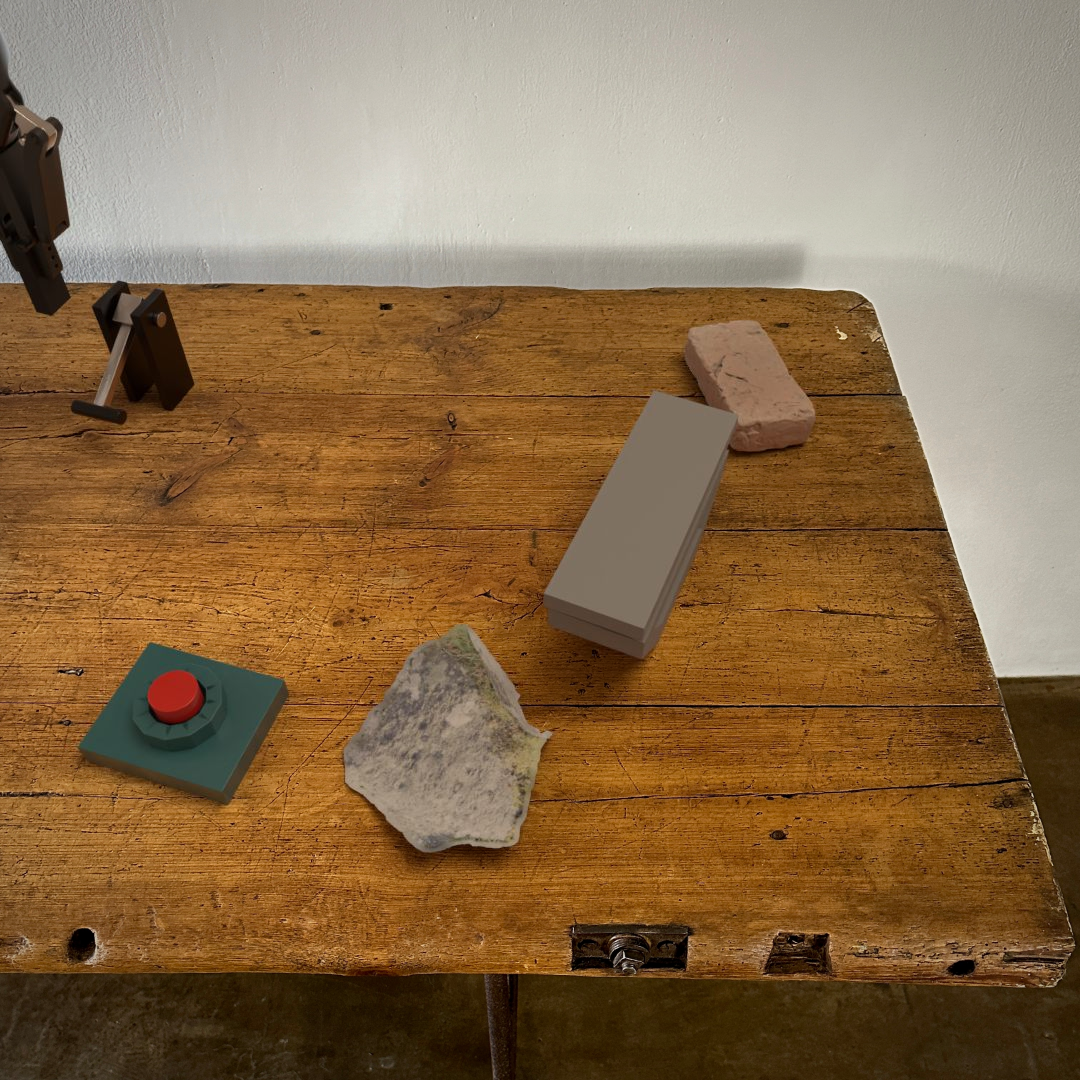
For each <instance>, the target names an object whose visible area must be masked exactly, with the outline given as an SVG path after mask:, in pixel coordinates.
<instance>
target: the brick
mask: <svg viewBox="0 0 1080 1080" xmlns="http://www.w3.org/2000/svg"><path fill="white" fill-rule="evenodd" d="M686 339H687V341H685V343H684V355H683V357H685V358H683V359H684V361H685V362H686V366H687V365H688V366H687V368H688V367H689V369H690V370H689V369H688V370H689V372H690V371H691V372H692V374H693V375H694V376H693V375H692V374H691V375H692V376H693V377H694V378H695V379H696V382H697V381H698V383H697V385H698V388H699V390H700V391H701V394H702V395H703V396H704V398H705V402H706V404H707V406H710V407H714V408H717V409H721V410H724V411H728V412H731V413H734V414H738V415H739V416H738V421H737V425H736V429H735V431H734V433H733V435H732V438H731V440H730V442H729V446H730V447H731V448H732V449H733V450H735V451H737V452H764V451H766V450H770V449H784V448H786V447H788V446H792V445H801V444H803V443H807V442H808V439H809V437H810V436H811V433H812V430H813V427H814V424H815V422H816V410H815V408H814V404H813V403H812V401H811V400H810V398H809V397H808V395H807V394H806V393H805V391H804V390H803V389H802V388H801V387H800V385H799V384H798V382H797V381H796V380H795V378H794V377H793V376H792V375H790V373H789V369H788V367H787V366H786V364H785V362H784V360H783V358H782V357H781V355H780V353H779V351H778V350H777V348H776V346H775V345H774V343H773V340H772V339H771V338H770V337H769V336H768V332H766V330H764V329H763V328H762V324H760V323H759V322H758V321H756V320H750V319H749V320H748V319H747V320H743V319H738V320H730V321H729V322H718V323H716V324H713V323H711V324H710V323H709V324H705V325H702V326H694V327H691V328H689V330H688V332H687V335H686ZM691 372H690V373H691Z"/></svg>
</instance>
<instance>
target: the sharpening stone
mask: <svg viewBox="0 0 1080 1080" xmlns="http://www.w3.org/2000/svg"><path fill="white" fill-rule="evenodd" d="M738 416H739V415H738V414H734V413H731V412H728V411H724V410H721V409H717V408H714V407H710V406H709V405H708V404H707V405H706V404H703V403H699V402H696V401H693V400H690V399H686V398H682V397H679V396H675V395H673V394H669V393H665V392H662V391H659V390H653V391H652V393H651V394H650V396H649V399H648V400H647V402H646V404H645V405H644V408H643V409H642V411H641V413H640V415H639V417H638V418H637V420H636V422H635V424H634V426H633V428H632V430H631V431H630V434H629V435H628V437H627V439H626V441H625V443H624V444H623V446H622V448H621V450H620V452H619V453H618V456H617V457H616V459H615V461H614V463H613V464H612V466H611V468H610V470H609V472H608V473H607V476H606V478H605V479H604V481H603V483H602V485H601V487H600V489H599V490H598V492H597V494H596V496H595V498H594V499H593V501H592V504H591V505H590V507H589V509H588V511H587V513H586V515H585V517H584V518H583V520H582V521H581V524H580V526H579V528H578V529H577V531H576V533H575V535H574V537H573V538H572V540H571V542H570V544H569V546H568V548H567V550H566V552H565V553H564V554H563V557H562V559H561V561H560V563H559V564H558V566H557V568H556V570H555V572H554V573H553V576H552V578H551V579H550V581H549V583H548V585H547V586H546V588H545V590H544V592H543V601H542V602H543V603H542V604H543V607H546V608H548V609H547V610H548V612H547V613H548V614H547V626H549V627H551V628H554V629H556V630H560V631H563V632H565V633H568V634H570V635H574V636H577V637H580V638H582V639H585V640H587V641H590V642H592V643H596V644H598V645H600V646H604V647H607V648H609V649H612V650H614V651H617V652H619V653H620V652H621V653H624V654H626V655H629V656H631V657H634V658H637V659H640V660H643V659H644V658H645V657H646V656H647V655H648V654H649V653H650V652H651V651H652V650H653V649H654V648H655V647H656V646H657V645H658V644H659V642H660V640H661V637H662V634H663V632H664V630H665V628H666V625H667V623H668V621H669V618H670V616H671V614H672V611H673V609H674V606H675V604H676V602H677V599H678V597H679V594H680V592H681V590H682V587H683V586H684V583H685V581H686V578H687V576H688V573H689V571H690V569H691V567H692V564H693V562H694V559H695V557H696V556H697V552H698V551H699V547H700V544H701V541H702V538H703V535H704V533H705V532H704V531H705V529H706V526H707V523H708V521H709V517H710V514H711V511H712V507H713V505H714V501H715V499H716V496H717V492H718V490H719V487H720V484H721V481H722V477H723V475H724V471H725V469H726V465H727V461H728V456H729V453H730V450H729V449H728V447H729V445H730V443H729V442H730V440H731V438H732V435H733V433H734V431H735V429H736V425H737V421H738Z"/></svg>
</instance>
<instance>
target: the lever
mask: <svg viewBox="0 0 1080 1080" xmlns="http://www.w3.org/2000/svg"><path fill="white" fill-rule="evenodd" d="M144 299H145V298H144V297H143V296H138V295H133V294H131V295H129V294H125V293H122V294H121V296H120V299H119V302H118V305H117V308H116V310H115V313H114V316H113V319H112V320H113V321H114V322H116V323H117V324H118V325H120V326H121V327H120V330H119V333H118V335H117V338H116V341H115V344H114V347H113V349H112V352H111V354H110V355H109V358H108V361H107V364H106V366H105V369H104V372H103V375H102V378H101V381H100V383H99V386H98V389H97V391H96V395H95V397H94V400H93V402H92V401H88V400H83V399H80V398H76V399H73V401H72V402H71V405H70V411H71V413H72V414H73V415H76V416H81V417H86V418H89V419H93V420H97V421H102V422H106V423H109V424H114V425H118V426H123V425H125V424H126V422H127V419H128V414H127V413H128V412H127V411H126V410H125V409H122V408H117V407H113V406H111V404H112V401H113V399H114V396H115V394H116V390H117V388H118V384H119V382H120V376H121V373H122V370H123V368H124V365H125V362H126V359H127V356H128V353H129V351H130V348H131V345H132V342H133V339H134V336H135V334H136V331H135V328H134V325H133V323H132V320H131V317H130V314H131V313H132V312H133V311H134V310H135V309H136V308H137V307H138V306H139V305H140V303H141V302H142V301H143V300H144Z"/></svg>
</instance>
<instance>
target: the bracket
mask: <svg viewBox="0 0 1080 1080" xmlns="http://www.w3.org/2000/svg"><path fill="white" fill-rule="evenodd" d="M122 293H125V294H129V295H132V292H131V290H130V286H129V284H128V282H127V281H123V280H119V279H118V280H117V281H116V282H115V283H113V285H112V286H110V287H109V288H108V289H107V290H106V291H105V292H104V293H103V294H102V295H101V296H100V297H99V298H98V299H96V301H95V302H94V303H93V304H92V305H91V309H92V312H93V314H94V317H95V319H96V321H97V324H98V327H99V329H100V331H101V334H102V336H103V339H104V342H105V344H106V347H107V349H108V352H109V354H110V355H111V352H112V349H113V347H114V344H115V341H116V338H117V335H118V333H119V330H120V327H121V326H120V325H118V324H117V323H116V322H114V321H113V320H112V319H113V316H114V313H115V310H116V308H117V305H118V302H119V299H120V296H121V294H122ZM130 317H131V320H132V323H133V325H134V328H135V331H136V334H135V336H134V339H133V342H132V345H131V348H130V351H129V353H128V356H127V359H126V362H125V365H124V368H123V370H122V373H121V376H120V379H119V381H120V382H121V384H122V387H123V389H124V393H125V394H126V397H127V400H128V402H130V403H135V404H138V403H139V402H140V401H141V400H142V399H143V397H144V396H145V395H146V394H147V393H148V392H149V390H150V389H151V388H152V387H153V386H155V389H156V391H157V394H158V397H159V399H160V403H161V405H162V407H163V410H166V411H169V412H173V411H174V410H175V409H176V408H177V407H178V405H179V404H180V403H181V402H182V400H183V399H184V398H185V397H186V395H187V394H188V393H189V392H190V391H191V390H192V389H193V387H194V386H195V381H194V378H193V375H192V372H191V368H190V366H189V363H188V360H187V359H188V358H187V357H186V353H185V351H184V347H183V344H182V341H181V338H180V335H179V332H178V327H177V325H176V322H175V319H174V317H173V313H172V310H171V307H170V304H169V301H168V297H167V294H166V291H165V290H164V289H161V288H157V287H155V288H154V289H152V291H151V292H150V293H149V294H148V295H147V296H146V297H145V298H144V300H143V301H142V302H141V303H140V305H139V306H138V307H137V308H136V309H135V310H134V311H133V312H132V313H131V314H130Z"/></svg>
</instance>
